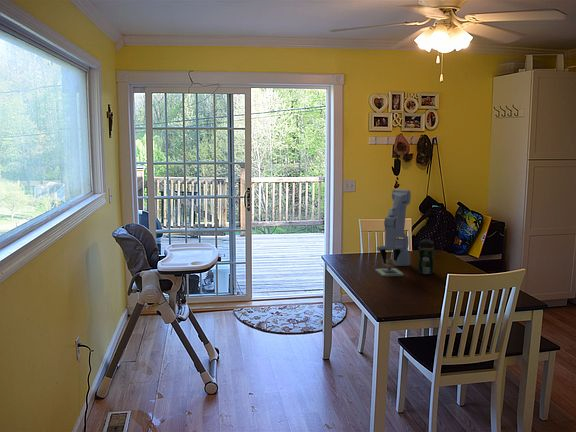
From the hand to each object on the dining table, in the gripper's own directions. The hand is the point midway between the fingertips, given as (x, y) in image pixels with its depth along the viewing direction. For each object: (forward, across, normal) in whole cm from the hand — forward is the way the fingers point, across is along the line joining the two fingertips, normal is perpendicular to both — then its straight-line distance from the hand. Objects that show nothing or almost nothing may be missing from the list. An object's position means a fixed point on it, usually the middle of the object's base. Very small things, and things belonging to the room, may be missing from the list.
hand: (389, 263), depth 281 cm
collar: (+1, 0, 0) cm, 1 cm away
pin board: (+6, 0, 0) cm, 6 cm away
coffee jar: (+6, +20, -2) cm, 21 cm away
